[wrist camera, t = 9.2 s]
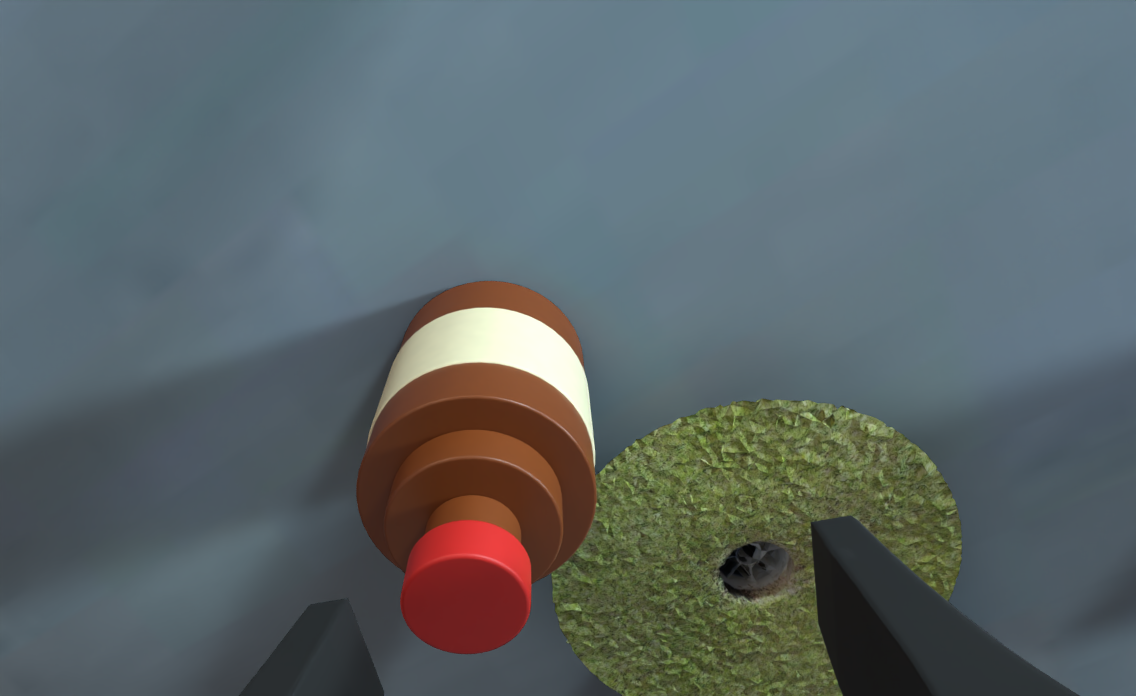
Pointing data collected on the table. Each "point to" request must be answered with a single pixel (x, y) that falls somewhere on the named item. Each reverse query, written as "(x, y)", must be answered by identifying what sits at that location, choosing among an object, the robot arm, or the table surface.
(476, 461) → the sauce bottle
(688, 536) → the yellow-green flat disc
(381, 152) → the table surface
